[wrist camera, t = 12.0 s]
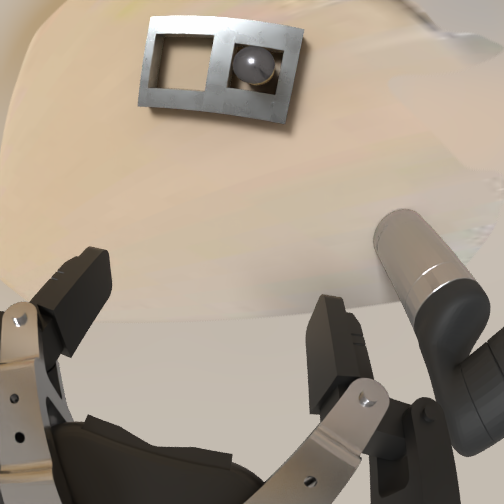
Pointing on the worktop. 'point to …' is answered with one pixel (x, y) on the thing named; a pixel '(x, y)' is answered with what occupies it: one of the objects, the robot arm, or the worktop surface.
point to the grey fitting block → (222, 66)
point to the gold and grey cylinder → (254, 65)
